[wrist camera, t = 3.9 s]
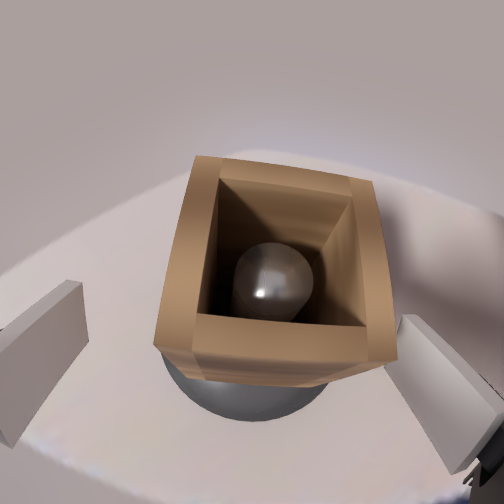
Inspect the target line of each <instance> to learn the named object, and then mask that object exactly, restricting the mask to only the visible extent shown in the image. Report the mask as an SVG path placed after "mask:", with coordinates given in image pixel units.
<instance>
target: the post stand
mask: <svg viewBox="0 0 504 504" xmlns="http://www.w3.org/2000/svg"><path fill="white" fill-rule="evenodd" d="M312 290H313V274H312V270H311V268H310V266H309V264H308V262H307V261H306V259H305V258H304V257H303V256H302V255H301V254H300V253H299V252H298V251H296V250H295V249H293V248H291V247H289V246H287V245H284V244H280V243H263V244H259V245H256V246H254V247H252V248H250V249H249V250H247V251H246V252H245V253H244V254H243V255H242V256H241V258H240V259H239V261H238V263H237V265H236V269H235V276H234V283H233V286H228V285H219V284H217V287H216V295H215V303H214V311H213V315H216V316H225V317H234V318H244V319H254V320H265V321H276V322H289V323H295V316H296V315H297V313H298V312H299V311H300V310H301V308H302V307H303V306H304V305H305V303H306V302H307V301H308V299H309V297H310V295H311V293H312ZM161 355H162V358H163V360H164V363H165V365H166V368H167V370H168V371H169V373H170V375H171V377H172V378H173V380H174V381H175V382H176V384H177V385H178V386H179V388H180V389H181V390H182V391H183V392H184V393H185V394H186V395H187V396H188V397H189V398H190V399H192V400H193V401H194V402H196V403H197V404H198V405H200V406H201V407H203V408H205V409H206V410H208V411H210V412H212V413H214V414H217V415H220V416H222V417H225V418H229V419H234V420H239V421H250V422H254V421H267V420H272V419H277V418H280V417H283V416H286V415H289V414H291V413H293V412H295V411H297V410H299V409H301V408H303V407H304V406H306V405H307V404H309V403H310V402H311V401H313V400H314V399H315V398H316V397H317V396H318V395H319V394H320V393H321V392H322V391H323V389H324V388H325V387H326V386H327V385H328V383H329V382H328V383H325V384H321V385H317V386H313V387H278V386H260V385H246V384H235V383H225V382H215V381H207V380H199V379H191V378H187V377H186V376H185V375H184V374H183V373H182V372H181V371H179V370H178V369H177V368H176V367H175V366H174V365H173V364H172V363H171V362H170V361H169V360H168V359H167V358H166V357H165V356H164V355H163V354H162V353H161Z"/></svg>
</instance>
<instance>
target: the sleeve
mask: <svg viewBox="0 0 504 504" xmlns="http://www.w3.org/2000/svg"><path fill="white" fill-rule="evenodd" d="M263 243H280V244H284V245H287V246H289V247H291V248H293V249H295V250H296V251H298V252H299V253H300V254H301V255H302V256H303V257H304V258H305V259H306V261H307V262H308V264H309V266H310V268H311V270H312V274H313V290H312V293H311V295H310V297H309V299H308V301H307V302H306V303H305V305H304V306H303V307H302V308H301V310H300V311H299V312H298V313H297V315H296V316H295V323H289V322H276V321H265V320H254V319H244V318H234V317H225V316H216V315H213V311H214V303H215V295H216V287H217V284H219V285H228V286H233V283H234V276H235V269H236V265H237V263H238V261H239V259H240V258H241V256H242V255H243V254H244V253H245V252H246V251H247V250H249V249H250V248H252V247H254V246H256V245H259V244H263ZM153 345H154V346H155V347H156V348H157V349H158V350H159V351H160V352H161V353H162V354H163V355H164V356H165V357H166V358H167V359H168V360H169V361H170V362H171V363H172V364H173V365H174V366H175V367H176V368H177V369H178V370H179V371H181V372H182V373H183V374H184V375H185V376H186V377H187V378H191V379H199V380H207V381H215V382H225V383H235V384H246V385H260V386H278V387H313V386H317V385H321V384H325V383H328V382H332V381H336V380H339V379H342V378H346V377H349V376H352V375H356V374H359V373H362V372H365V371H368V370H371V369H374V368H377V367H380V366H383V365H386V364H388V363H391V362H394V361H397V360H398V356H397V339H396V326H395V315H394V305H393V296H392V288H391V280H390V273H389V266H388V260H387V254H386V248H385V242H384V236H383V231H382V225H381V220H380V215H379V211H378V206H377V201H376V197H375V192H374V188H373V184H372V181H367V180H363V179H358V178H353V177H348V176H343V175H337V174H332V173H326V172H321V171H315V170H309V169H303V168H297V167H290V166H283V165H277V164H269V163H262V162H254V161H246V160H237V159H228V158H218V157H208V156H196V157H195V160H194V163H193V167H192V171H191V174H190V178H189V181H188V185H187V189H186V193H185V196H184V200H183V204H182V208H181V212H180V216H179V220H178V224H177V228H176V232H175V237H174V241H173V245H172V250H171V254H170V259H169V263H168V268H167V273H166V277H165V282H164V287H163V292H162V298H161V303H160V308H159V314H158V319H157V325H156V331H155V337H154V343H153Z"/></svg>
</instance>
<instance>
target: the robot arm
mask: <svg viewBox="0 0 504 504" xmlns="http://www.w3.org/2000/svg"><path fill="white" fill-rule="evenodd" d="M396 339H397V356H398V360H397V361H394V362H391V363H388V364H386V365H385V366H384V368H385V370H386V371H387V373H388V374H389V376H390V377H391V379H392V380H393V382H394V383H395V385H396V387H397V388H398V390H399V391H400V393H401V394H402V396H403V397H404V399H405V401H406V402H407V404H408V405H409V407H410V408H411V410H412V412H413V413H414V415H415V416H416V418H417V419H418V421H419V423H420V424H421V426H422V428H423V429H424V431H425V432H426V434H427V436H428V437H429V439H430V441H431V442H432V444H433V445H434V447H435V449H436V450H437V452H438V454H439V455H440V457H441V459H442V461H443V462H444V464H445V466H446V467H447V469H448V471H449V473H450V474H451V475H453V474H456V473H458V472H460V471H463V470H465V469H467V468H468V467H469V465H470V464H471V463H472V462H473V461H474V460H475V458H476V457H477V458H478V460H479V461H480V462H479V464H478V465H477V466H476V467H475V468H474V469H473V470H472V472H471V473H470V474H469V475H468V476H467V477H466V478H465V479H464V481H463V484H466V483H467V482H468V480H469V479H470V478H472V477H473V480H472V481H471V482H470V483H469V486H472V488H471V493H470V498H469V503H468V504H504V399H503V398H502V397H501V396H500V395H499V394H498V393H497V391H496V390H494V388H493V387H492V386H491V385H490V384H488V382H487V381H486V380H485V379H484V378H483V377H482V376H481V375H480V374H479V373H477V372H476V371H475V370H474V369H473V368H472V367H471V366H470V365H469V364H468V363H467V362H466V361H465V360H464V359H463V358H462V357H461V356H460V355H459V354H458V353H457V352H456V351H455V350H454V349H453V348H452V347H451V346H450V345H449V344H448V343H447V342H446V341H445V340H443V339H442V338H441V337H440V336H439V335H438V334H437V333H436V332H435V331H434V330H433V329H432V328H431V327H430V326H429V325H428V324H427V323H425V322H424V321H423V320H422V319H421V318H420V317H419V316H418V315H417V314H403V316H402V319H401V322H400V325H399V328H398V331H397V334H396ZM88 342H89V338H88V331H87V324H86V316H85V307H84V297H83V286H82V282H77V281H71V280H66V281H64V282H63V283H62V284H60V285H59V286H58V287H56V288H55V289H54V290H52V291H51V292H50V293H48V294H47V295H46V296H44V297H43V298H42V299H40V300H39V301H38V302H36V303H35V304H34V305H33V306H31V307H30V308H29V309H27V310H26V311H25V312H24V313H22V314H21V315H20V316H19V317H17V318H16V319H15V320H14V321H12V322H11V323H10V324H9V325H7V326H6V327H5V328H3V329H1V330H0V443H1V444H3V445H5V446H7V447H9V448H11V449H13V447H14V446H15V444H16V443H17V441H18V440H19V438H20V437H21V435H22V433H23V432H24V430H25V429H26V427H27V426H28V424H29V423H30V421H31V420H32V418H33V417H34V415H35V414H36V413H37V411H38V410H39V408H40V407H41V405H42V404H43V402H44V401H45V400H46V398H47V397H48V395H49V394H50V393H51V391H52V390H53V388H54V387H55V386H56V384H57V383H58V381H59V380H60V379H61V377H62V376H63V375H64V373H65V372H66V371H67V369H68V368H69V367H70V365H71V364H72V363H73V361H74V360H75V359H76V357H77V356H78V355H79V353H80V352H81V351H82V350H83V348H84V347H85V346H86V344H87V343H88Z"/></svg>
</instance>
